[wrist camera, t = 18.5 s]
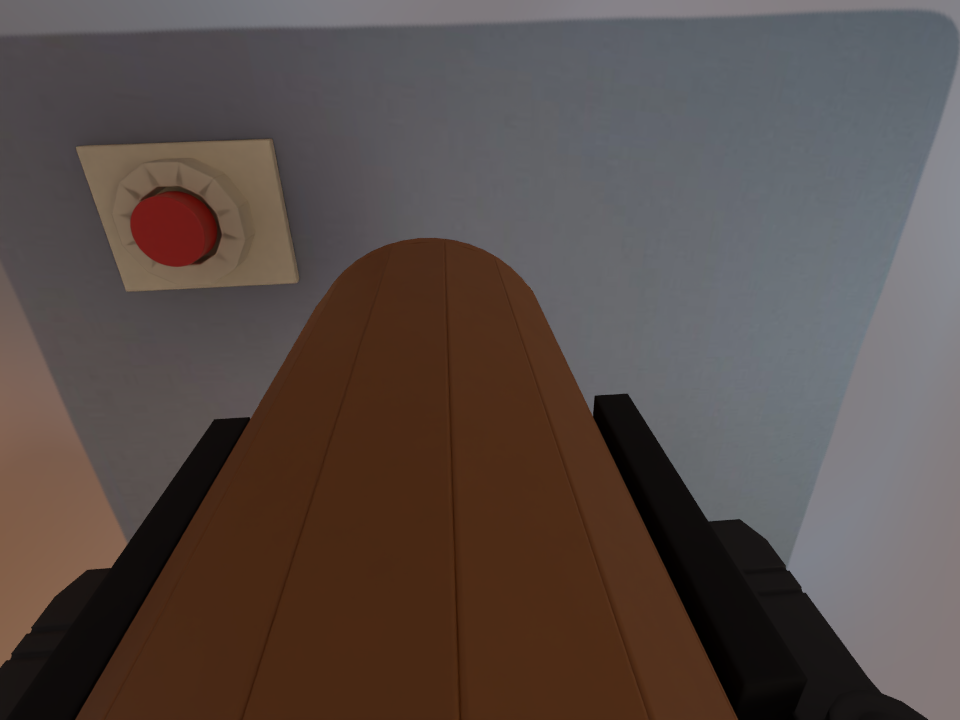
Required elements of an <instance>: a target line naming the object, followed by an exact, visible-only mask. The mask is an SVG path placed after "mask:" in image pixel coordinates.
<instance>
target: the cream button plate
mask: <svg viewBox="0 0 960 720" xmlns="http://www.w3.org/2000/svg"><path fill="white" fill-rule="evenodd" d="M76 150H77V153H78V156H79V159H80V162H81V164H82V167H83V170H84V173H85V176H86V179H87V181H88V184H89V187H90V190H91V193H92V196H93V199H94V201H95V204H96V207H97V210H98V213H99V216H100V218H101V221H102V224H103V227H104V230H105V233H106V235H107V238H108V241H109V244H110V247H111V250H112V252H113V255H114V258H115V261H116V264H117V267H118V269H119V272H120V275H121V278H122V281H123V284H124V286H125V289H126V291H127V292H131V291H151V290H171V289H191V288H211V287H231V286H251V285H271V284H290V283H297V282H298V281H299V274H298V269H297V264H296V258H295V253H294V248H293V243H292V238H291V233H290V227H289V222H288V217H287V212H286V207H285V202H284V196H283V191H282V186H281V181H280V176H279V171H278V165H277V160H276V155H275V150H274V145H273V140H272V139H247V140H220V141H193V142H167V143H140V144H113V145H86V146H77V147H76ZM167 191H180V192H184V193H187V194H190V195H192V196H194V197H196V198H197V199H199V200H200V201H201V202H202V203H204V204H205V206H206V207H207V208H208V209H209V210H210V212H211V213H212V215H213V217H214V219H215V222H216V226H217V239H216V242H215V245H214V246H213V248H212V249H211V250H210V251H209V252H208V253H207V254H205V255H204V256H202V257H201V258H200V259H198V260H197V261H195V262H193V263H192V264H190V265H187V266H182V267H171V266H166V265H163V264H160V263H158V262H156V261H154V260H152V259H151V258H149V257H148V256H147V255H146V254H145V253H143V252H142V250H141V249H140V248H139V247H138V245H137V244H136V242H135V240H134V238H133V236H132V233H131V228H130V220H131V215H132V212H133V210H134V208H135V207H136V206H137V204H139V203H140V202H141V201H143V200H144V199H147V198H149V197H152V196H155V195H158V194H160V193H163V192H167Z"/></svg>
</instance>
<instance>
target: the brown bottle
mask: <svg viewBox="0 0 960 720" xmlns="http://www.w3.org/2000/svg"><path fill="white" fill-rule="evenodd" d="M75 720H738V719H737V716H736V714H735V712H734V710H733V708H732V706H731V704H730V702H729V700H728V698H727V696H726V694H725V691H724V689H723V687H722V685H721V683H720V681H719V679H718V677H717V675H716V673H715V671H714V668H713V666H712V664H711V662H710V660H709V658H708V656H707V654H706V652H705V650H704V648H703V645H702V643H701V641H700V639H699V637H698V635H697V633H696V631H695V629H694V627H693V625H692V623H691V620H690V618H689V616H688V614H687V612H686V610H685V608H684V606H683V604H682V602H681V600H680V597H679V595H678V593H677V591H676V589H675V587H674V585H673V583H672V581H671V579H670V577H669V575H668V572H667V570H666V568H665V566H664V564H663V562H662V560H661V558H660V556H659V554H658V552H657V549H656V547H655V545H654V543H653V541H652V539H651V537H650V535H649V533H648V531H647V529H646V527H645V524H644V522H643V520H642V518H641V516H640V514H639V512H638V510H637V508H636V506H635V504H634V501H633V499H632V497H631V495H630V493H629V491H628V489H627V487H626V485H625V483H624V481H623V479H622V476H621V474H620V472H619V470H618V468H617V466H616V464H615V462H614V460H613V458H612V456H611V453H610V451H609V449H608V447H607V445H606V443H605V441H604V439H603V437H602V435H601V433H600V431H599V428H598V426H597V424H596V422H595V420H594V418H593V416H592V414H591V412H590V410H589V408H588V405H587V403H586V401H585V399H584V397H583V395H582V393H581V391H580V389H579V387H578V385H577V383H576V380H575V378H574V376H573V374H572V372H571V370H570V368H569V366H568V364H567V362H566V360H565V357H564V355H563V353H562V351H561V349H560V347H559V345H558V343H557V341H556V339H555V337H554V334H553V332H552V330H551V328H550V326H549V324H548V322H547V320H546V318H545V316H544V314H543V312H542V309H541V307H540V305H539V303H538V301H537V299H536V297H535V295H534V293H533V291H532V290H531V288H530V287H529V286H528V285H527V284H526V283H525V282H524V280H523V279H522V278H521V277H520V276H519V275H518V274H517V273H516V272H515V271H514V270H513V269H512V268H511V267H510V266H508V265H507V264H506V263H504V262H503V261H502V260H500V259H499V258H497V257H496V256H494V255H492V254H490V253H488V252H487V251H485V250H483V249H480V248H478V247H475V246H473V245H470V244H467V243H463V242H459V241H455V240H449V239H440V238H417V239H410V240H403V241H399V242H396V243H392V244H389V245H385V246H383V247H381V248H378V249H376V250H374V251H372V252H370V253H368V254H366V255H365V256H363V257H362V258H360V259H358V260H357V261H355V262H354V263H353V264H352V265H351V266H349V267H348V268H347V269H346V270H345V271H344V272H343V273H342V274H341V275H340V276H339V277H338V278H337V279H336V280H335V281H334V283H333V284H332V286H331V287H330V289H329V290H328V292H327V293H326V295H325V296H324V297H323V298H322V300H321V301H320V302H319V304H318V305H317V306H316V308H315V310H314V311H313V313H312V315H311V316H310V318H309V320H308V322H307V323H306V325H305V327H304V328H303V330H302V332H301V334H300V335H299V337H298V339H297V340H296V342H295V344H294V346H293V347H292V349H291V351H290V352H289V354H288V356H287V358H286V359H285V361H284V363H283V364H282V366H281V368H280V370H279V371H278V373H277V375H276V376H275V378H274V380H273V382H272V383H271V385H270V387H269V388H268V390H267V392H266V394H265V395H264V397H263V399H262V400H261V402H260V404H259V406H258V407H257V409H256V411H255V412H254V414H253V416H252V418H251V419H250V421H249V423H248V424H247V426H246V428H245V430H244V431H243V433H242V435H241V436H240V438H239V440H238V442H237V443H236V445H235V447H234V448H233V450H232V452H231V454H230V455H229V457H228V459H227V460H226V462H225V464H224V466H223V467H222V469H221V471H220V472H219V474H218V476H217V478H216V479H215V481H214V483H213V484H212V486H211V488H210V490H209V491H208V493H207V495H206V496H205V498H204V500H203V502H202V503H201V505H200V507H199V508H198V510H197V512H196V513H195V515H194V517H193V519H192V520H191V522H190V524H189V525H188V527H187V529H186V531H185V532H184V534H183V536H182V537H181V539H180V541H179V543H178V544H177V546H176V548H175V549H174V551H173V553H172V555H171V556H170V558H169V560H168V561H167V563H166V565H165V567H164V568H163V570H162V572H161V573H160V575H159V577H158V579H157V580H156V582H155V584H154V585H153V587H152V589H151V591H150V592H149V594H148V596H147V597H146V599H145V601H144V603H143V604H142V606H141V608H140V609H139V611H138V613H137V615H136V616H135V618H134V620H133V621H132V623H131V625H130V627H129V628H128V630H127V632H126V633H125V635H124V637H123V639H122V640H121V642H120V644H119V645H118V647H117V649H116V651H115V652H114V654H113V656H112V657H111V659H110V661H109V663H108V664H107V666H106V668H105V669H104V671H103V673H102V675H101V676H100V678H99V680H98V681H97V683H96V685H95V687H94V688H93V690H92V692H91V693H90V695H89V697H88V699H87V700H86V702H85V704H84V705H83V707H82V709H81V711H80V712H79V714H78V716H77V717H76V719H75Z"/></svg>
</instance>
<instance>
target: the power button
mask: <svg viewBox="0 0 960 720" xmlns="http://www.w3.org/2000/svg"><path fill="white" fill-rule="evenodd" d="M130 228H131V233H132V236H133V238H134V240H135V242H136V244H137V245H138V247H139V248H140V249H141V250H142V252H143V253H145V254H146V255H147V256H148V257H149V258H151V259H152V260H154V261H156V262H158V263H160V264H163V265H166V266H171V267H182V266H187V265H190V264H192V263H193V262H195V261H197V260H198V259H200V258H201V257H202V256H204V255H205V254H207V253H208V252H209V251H210V250H211V249H212V248H213V246H214V245H215V242H216V239H217V226H216V222H215V219H214V217H213V215H212V213H211V212H210V210H209V209H208V208H207V207H206V206H205V204H204V203H202V202H201V201H200V200H199V199H197V198H196V197H194V196H192V195H190V194H187V193H184V192H180V191H167V192H163V193H160V194H158V195H155V196H152V197H149V198H147V199H144V200H143V201H141V202H140V203H139V204H137V206H136V207H135V208H134V210H133V212H132V215H131V220H130Z"/></svg>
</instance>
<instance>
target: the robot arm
mask: <svg viewBox="0 0 960 720" xmlns="http://www.w3.org/2000/svg"><path fill="white" fill-rule="evenodd" d="M593 418H594V420H595V422H596V424H597V426H598V428H599V431H600V433H601V435H602V437H603V439H604V441H605V443H606V445H607V447H608V449H609V451H610V453H611V456H612V458H613V460H614V462H615V464H616V466H617V468H618V470H619V472H620V474H621V476H622V479H623V481H624V483H625V485H626V487H627V489H628V491H629V493H630V495H631V497H632V499H633V501H634V504H635V506H636V508H637V510H638V512H639V514H640V516H641V518H642V520H643V522H644V524H645V527H646V529H647V531H648V533H649V535H650V537H651V539H652V541H653V543H654V545H655V547H656V549H657V552H658V554H659V556H660V558H661V560H662V562H663V564H664V566H665V568H666V570H667V572H668V575H669V577H670V579H671V581H672V583H673V585H674V587H675V589H676V591H677V593H678V595H679V597H680V600H681V602H682V604H683V606H684V608H685V610H686V612H687V614H688V616H689V618H690V620H691V623H692V625H693V627H694V629H695V631H696V633H697V635H698V637H699V639H700V641H701V643H702V645H703V648H704V650H705V652H706V654H707V656H708V658H709V660H710V662H711V664H712V666H713V668H714V671H715V673H716V675H717V677H718V679H719V681H720V683H721V685H722V687H723V689H724V691H725V694H726V696H727V698H728V700H729V702H730V704H731V706H732V708H733V710H734V712H735V714H736V716H737V719H738V720H928V719H927V718H925V717H924V716H922V715H921V714H919V713H918V712H916V711H915V710H914V709H912V708H911V707H909V706H908V705H906V704H905V703H903V702H902V701H899V700H897V699H894V698H892V697H889V696H887V695H884V694H882V693H881V692H880V691H879V690H878V689H877V687H876V686H875V685H874V684H873V683H872V682H871V680H870V679H869V678H868V677H867V675H866V674H865V673H864V671H863V670H862V669H861V667H860V666H859V665H858V663H857V662H856V660H855V659H854V658H853V657H852V656H851V654H850V652H849V651H848V650H847V648H846V647H845V646H844V644H843V643H842V642H841V640H840V639H839V637H838V636H837V635H836V634H835V632H834V631H833V629H832V628H831V627H830V625H829V624H828V622H827V621H826V620H825V618H824V617H823V616H822V614H821V613H820V612H819V611H818V609H817V608H816V606H815V605H814V603H813V602H812V601H811V599H810V598H809V597H808V595H807V594H806V593H803V592H802V589H801V586H800V584H799V583H798V582H797V580H796V579H795V578H794V576H793V575H792V574H791V572H790V571H787V570H786V565H785V564H784V563H783V561H782V560H781V559H780V557H779V556H778V555H777V553H776V552H775V551H774V549H773V548H772V546H771V545H770V544H769V542H768V541H767V540H766V539H765V538H763V537H762V536H761V535H760V534H758V533H757V532H756V531H754V530H753V529H752V528H750V527H749V526H748V525H747V524H745V523H744V522H743V521H741V520H740V519H737V520H723V521H710V522H708V520H707V519H706V517H705V516H704V514H703V512H702V511H701V509H700V508H699V506H698V504H697V503H696V501H695V500H694V498H693V497H692V495H691V493H690V492H689V490H688V489H687V487H686V485H685V484H684V482H683V481H682V479H681V478H680V476H679V474H678V473H677V471H676V470H675V468H674V466H673V465H672V463H671V462H670V460H669V459H668V457H667V455H666V454H665V452H664V451H663V449H662V447H661V446H660V444H659V443H658V441H657V440H656V438H655V436H654V435H653V433H652V432H651V430H650V428H649V427H648V425H647V424H646V422H645V421H644V419H643V417H642V416H641V414H640V413H639V411H638V409H637V408H636V406H635V405H634V403H633V401H632V400H631V398H630V397H629V395H628V394H615V395H598V396H595V399H594V412H593ZM249 421H250V417H246V418H230V419H214V421H213V422H212V424H211V425H210V426H209V428H208V429H207V431H206V432H205V434H204V435H203V437H202V438H201V439H200V441H199V442H198V444H197V445H196V447H195V448H194V449H193V451H192V452H191V454H190V455H189V457H188V458H187V460H186V461H185V462H184V464H183V465H182V467H181V468H180V470H179V471H178V473H177V474H176V475H175V477H174V478H173V480H172V481H171V483H170V484H169V485H168V487H167V488H166V490H165V491H164V493H163V494H162V496H161V497H160V498H159V500H158V501H157V503H156V504H155V506H154V507H153V509H152V510H151V511H150V513H149V514H148V516H147V517H146V519H145V520H144V521H143V523H142V524H141V526H140V527H139V529H138V530H137V532H136V533H135V534H134V536H133V537H132V539H131V540H130V542H129V543H128V545H127V546H126V548H125V549H124V550H123V552H122V553H121V555H120V556H119V557H118V559H117V560H116V562H115V563H114V565H113V566H112V568H106V569H94V570H87V571H85V572H84V573H83V574H82V575H81V576H79V577H78V578H77V579H76V580H75V581H73V582H72V583H71V584H70V585H69V586H67V587H66V588H65V589H64V590H62V591H61V592H60V593H59V594H58V595H56V596H55V597H54V599H53V600H52V601H51V603H50V604H49V605H48V606H47V608H46V609H45V610H44V612H43V613H42V614H41V616H40V617H39V618H38V620H37V621H36V622H35V623H34V625H33V626H32V627H31V628H32V631H31V633H29V634H26V635H25V637H24V638H23V639H22V641H21V642H20V643H19V644H18V646H17V647H16V648H15V650H14V651H13V652H12V653H11V654H12V657H11V659H10V660H7V661H6V662H5V663H4V664H3V665H2V666H1V668H0V720H75V719H76V717H77V716H78V714H79V712H80V711H81V709H82V707H83V705H84V704H85V702H86V700H87V699H88V697H89V695H90V693H91V692H92V690H93V688H94V687H95V685H96V683H97V681H98V680H99V678H100V676H101V675H102V673H103V671H104V669H105V668H106V666H107V664H108V663H109V661H110V659H111V657H112V656H113V654H114V652H115V651H116V649H117V647H118V645H119V644H120V642H121V640H122V639H123V637H124V635H125V633H126V632H127V630H128V628H129V627H130V625H131V623H132V621H133V620H134V618H135V616H136V615H137V613H138V611H139V609H140V608H141V606H142V604H143V603H144V601H145V599H146V597H147V596H148V594H149V592H150V591H151V589H152V587H153V585H154V584H155V582H156V580H157V579H158V577H159V575H160V573H161V572H162V570H163V568H164V567H165V565H166V563H167V561H168V560H169V558H170V556H171V555H172V553H173V551H174V549H175V548H176V546H177V544H178V543H179V541H180V539H181V537H182V536H183V534H184V532H185V531H186V529H187V527H188V525H189V524H190V522H191V520H192V519H193V517H194V515H195V513H196V512H197V510H198V508H199V507H200V505H201V503H202V502H203V500H204V498H205V496H206V495H207V493H208V491H209V490H210V488H211V486H212V484H213V483H214V481H215V479H216V478H217V476H218V474H219V472H220V471H221V469H222V467H223V466H224V464H225V462H226V460H227V459H228V457H229V455H230V454H231V452H232V450H233V448H234V447H235V445H236V443H237V442H238V440H239V438H240V436H241V435H242V433H243V431H244V430H245V428H246V426H247V424H248V423H249Z"/></svg>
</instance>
